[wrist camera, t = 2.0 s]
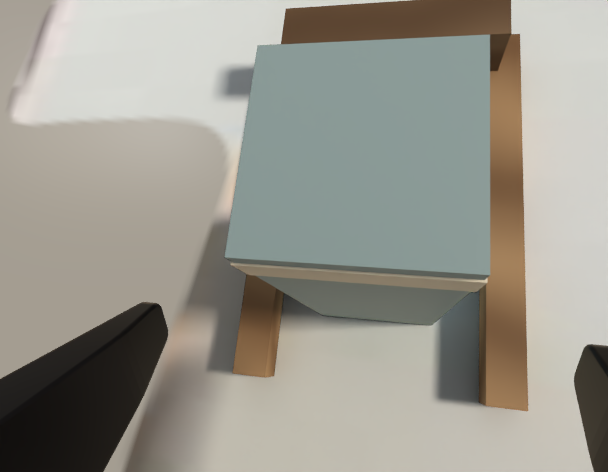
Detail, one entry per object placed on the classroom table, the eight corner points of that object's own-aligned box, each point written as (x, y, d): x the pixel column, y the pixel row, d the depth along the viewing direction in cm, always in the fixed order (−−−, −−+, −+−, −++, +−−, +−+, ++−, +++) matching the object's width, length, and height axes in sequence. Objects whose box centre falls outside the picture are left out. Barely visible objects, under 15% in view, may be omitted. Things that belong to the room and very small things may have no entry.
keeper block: (432, 326, 19) (493, 278, 8) (321, 316, 20) (221, 259, 9) (436, 218, 21) (492, 32, 9) (330, 214, 22) (255, 43, 10)
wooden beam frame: (517, 407, 18) (550, 420, 14) (243, 372, 20) (209, 375, 17) (511, 54, 22) (536, -8, 18) (285, 63, 25) (266, 10, 21)
